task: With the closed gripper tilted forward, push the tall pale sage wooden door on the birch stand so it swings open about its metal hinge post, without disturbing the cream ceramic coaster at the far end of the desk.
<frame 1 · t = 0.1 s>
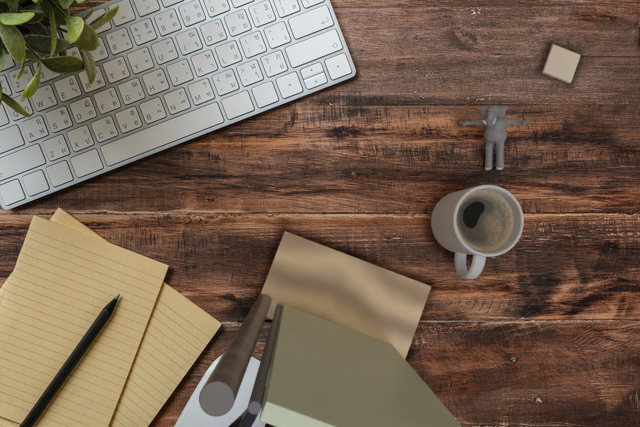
hand: (308, 403, 49), 18 cm above the table, tool horizontal, fingers open, 9 cm apart
door: (346, 371, 47), point 20 cm above the table, hinge at 0.0°
elephant figurine: (489, 138, 70), on the table
coaster: (560, 64, 70), on the table
door stand: (342, 298, 67), on the table
mug: (457, 228, 69), on the table
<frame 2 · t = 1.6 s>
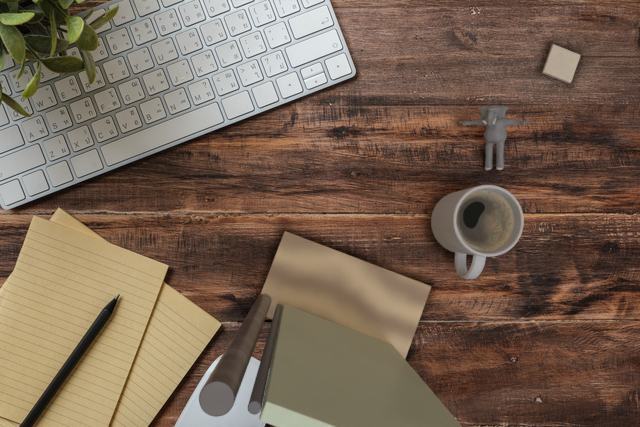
nothing on the table moved.
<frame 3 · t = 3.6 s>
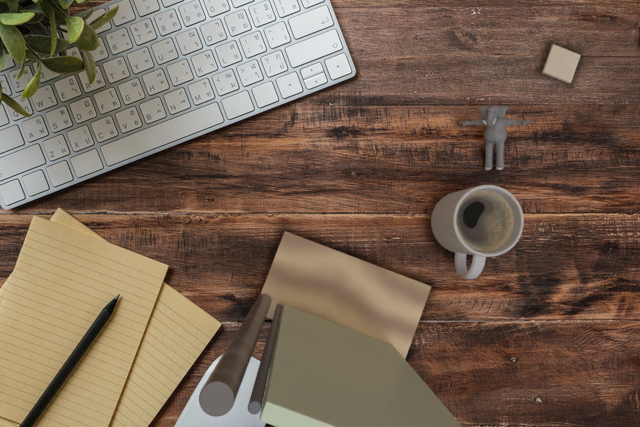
nothing on the table moved.
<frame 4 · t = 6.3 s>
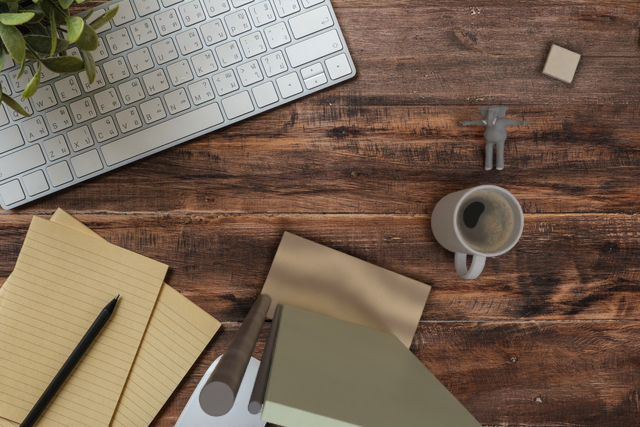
hand: (353, 343, 59), 8 cm above the table, tool tilted 45°, fingers closed, pressing on door
door: (349, 364, 47), point 20 cm above the table, hinge at 4.8°, touching gripper
everything else where it was.
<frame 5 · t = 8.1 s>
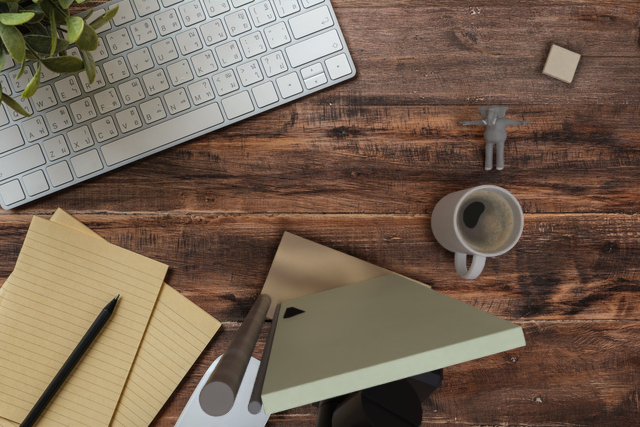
hand: (366, 300, 60), 7 cm above the table, tool tilted 45°, fingers closed
door: (353, 322, 47), point 20 cm above the table, hinge at 34.6°, touching gripper
everything else where it was.
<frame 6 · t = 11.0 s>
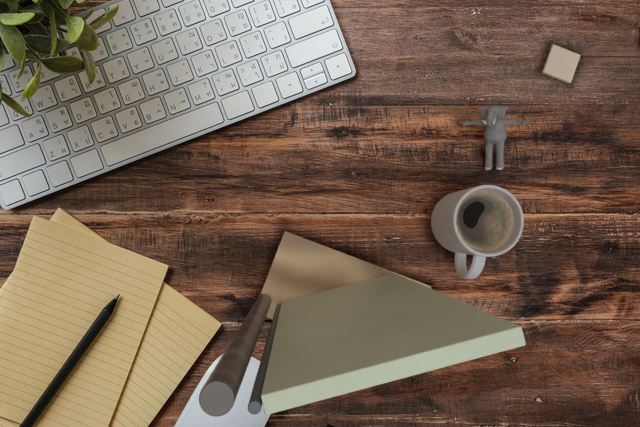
hand: (329, 426, 54), 13 cm above the table, tool tilted 45°, fingers closed
door: (353, 322, 47), point 20 cm above the table, hinge at 34.7°
everything else where it was.
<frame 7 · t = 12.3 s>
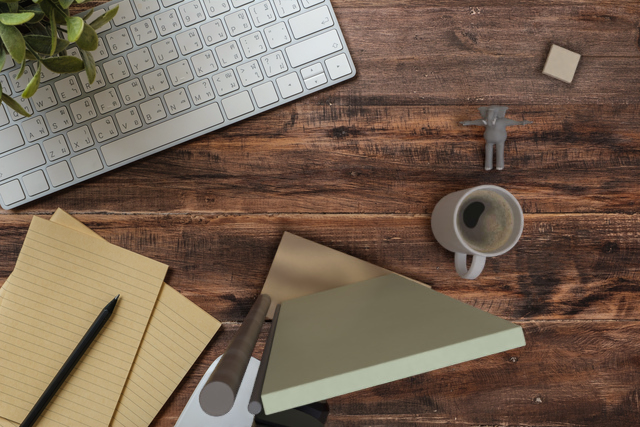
nothing on the table moved.
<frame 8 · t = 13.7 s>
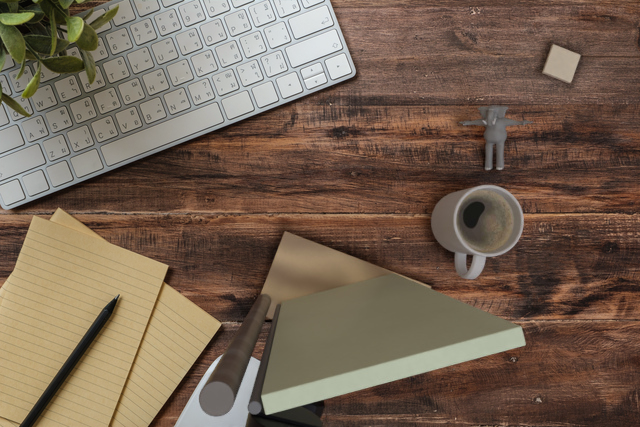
nothing on the table moved.
at the end: door at +35° (first picture: +0°); door touching nothing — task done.
